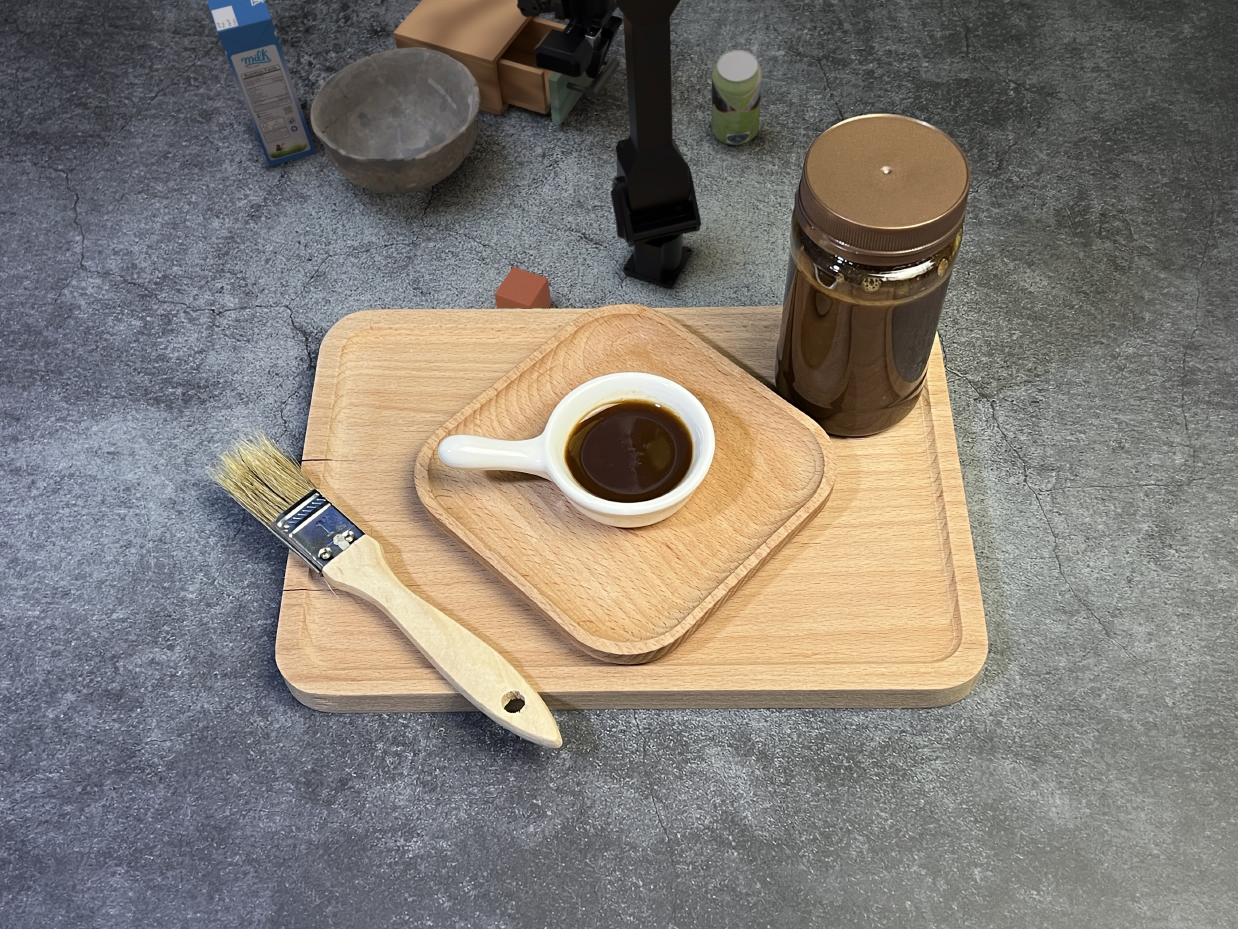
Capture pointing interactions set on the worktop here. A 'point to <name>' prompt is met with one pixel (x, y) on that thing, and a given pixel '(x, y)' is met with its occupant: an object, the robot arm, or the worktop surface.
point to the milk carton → (263, 78)
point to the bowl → (398, 119)
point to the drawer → (544, 75)
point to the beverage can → (736, 97)
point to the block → (523, 291)
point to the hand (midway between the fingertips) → (592, 76)
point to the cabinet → (467, 37)
